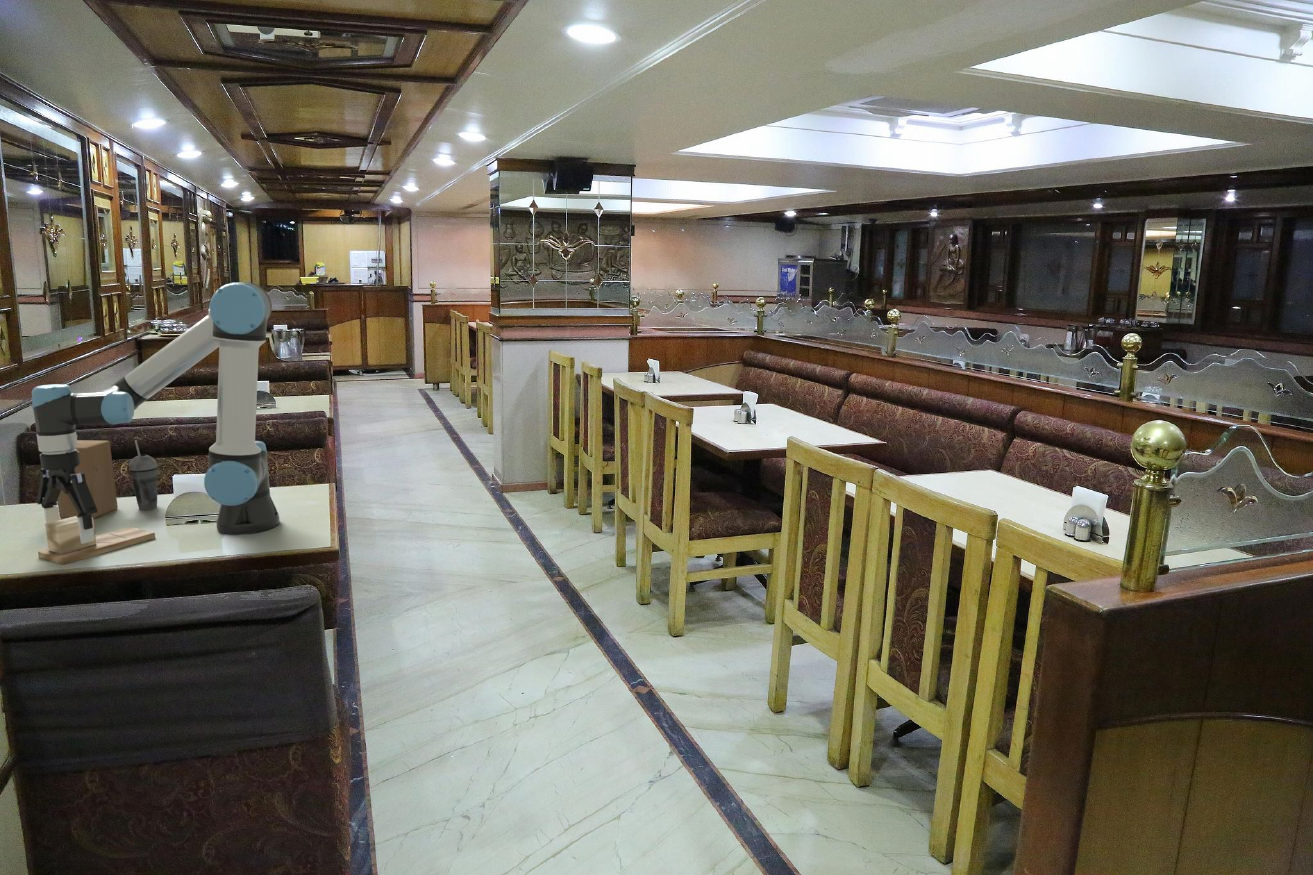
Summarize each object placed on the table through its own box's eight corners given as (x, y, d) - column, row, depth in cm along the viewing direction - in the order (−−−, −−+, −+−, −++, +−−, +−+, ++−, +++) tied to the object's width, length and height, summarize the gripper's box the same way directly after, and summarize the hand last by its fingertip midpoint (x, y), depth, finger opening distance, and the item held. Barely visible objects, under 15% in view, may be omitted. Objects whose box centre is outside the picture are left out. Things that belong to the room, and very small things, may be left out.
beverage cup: (167, 507, 241) (160, 439, 237) (140, 513, 235) (132, 443, 231) (155, 503, 245) (147, 436, 241) (128, 508, 239) (120, 440, 235)
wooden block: (94, 519, 229) (85, 447, 226) (59, 518, 230) (49, 447, 226) (118, 508, 239) (110, 440, 235) (84, 508, 239) (75, 439, 236)
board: (155, 538, 214) (154, 532, 214) (63, 564, 195) (62, 558, 194) (131, 532, 218) (130, 526, 218) (38, 557, 199) (37, 551, 199)
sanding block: (96, 545, 203) (93, 517, 202) (61, 555, 196) (57, 526, 195) (84, 542, 206) (80, 514, 204) (49, 551, 199) (45, 523, 197)
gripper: (107, 453, 194) (118, 540, 198) (46, 442, 205) (57, 525, 209) (73, 459, 187) (85, 550, 192) (11, 448, 198) (24, 534, 202)
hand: (71, 537), depth 200 cm, fingers open, 13 cm apart
